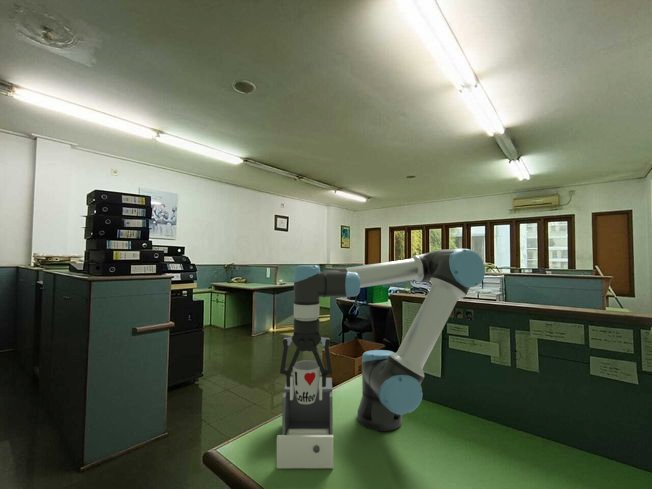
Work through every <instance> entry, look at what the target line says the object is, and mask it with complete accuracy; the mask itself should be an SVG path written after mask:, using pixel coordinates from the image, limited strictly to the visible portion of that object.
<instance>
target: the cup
mask: <svg viewBox="0 0 652 489" xmlns="http://www.w3.org/2000/svg"><path fill="white" fill-rule="evenodd" d="M292 373H293V382H294V389H295V394H296V397H297V401H298V402H299V403H300V404H311V403H313V402H315V399H316V395H317V392H318V386H319V376H320V373H321V371H320V367H319V366H318V364H317V361H316V360H300V361H296V363H295V365H294V367H293V370H292Z"/></svg>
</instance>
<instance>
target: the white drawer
mask: <svg viewBox="0 0 652 489" xmlns="http://www.w3.org/2000/svg"><path fill="white" fill-rule="evenodd" d="M334 457H335V456H334V434H333V435H329V429H288V430H287V435H282V434H278V435H276V469H334V467H335V465H334V462H335V461H334Z"/></svg>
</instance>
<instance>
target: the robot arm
mask: <svg viewBox="0 0 652 489" xmlns="http://www.w3.org/2000/svg"><path fill="white" fill-rule="evenodd" d="M320 269H321V268H320V266H319V265H316V264H304V265H303V264H301V265H297V266H295V267H294V272H293V273H294V275H293V318H294V319H293V334H292V336H291V337H287V336H286V337H284V338H283V339H282V346H283V350H282V356H281V363H280V369H279V373H280V374H281V375H285V377H286V380H285V385H286V386H287V387H290V400H293V397H294V382H293V367H294V365H295V363H296V362H297V360H298V357H299V355H300V352H306V351H307V352H312V354H313V356H314V358H315V362H317V364H318V366H319V367H320V376H319V400H322V387H326V378H327V376H328V375H332V374H333V365H332V359H331V352H330V342H331V341H330V340H331V338H330V337H329V336H327V337H323V336H321V333H320V318H319V317H320V304H321V303H320V298H351V297H357V296H358V295H359V294H360V292H361V288H367V287H375V286H383V285H387V284H388V285H389V284H395V283H401V282H403V283H404V282H409V281H415V282H417V283H420V282H430V284H431V287H430V289H429V291H428V293H427V294H426V297H425V299H424V300H423V302H422V304H421V305H420V308H419V310H418V311H417V313H416V315H415V318H414V319H413V320H412V323H411V324H410V326H409V327H408V328H409V329H408V331H406V332H407V333H406V335H405V336H404V338H403V340H402V342H401V344H400V345H399V347H398V350H397V351H396V352H394V351H392V350H385V349H373V350H368V351H365V352H363V354H362V357H361V358H362V359H361V372H362V373H361V376H362V378H361V380H362V382H361V383H362V384H361V385H362V388H361V390H362V396H361V399H360V401H359V405H358V408H357V421H358V423H359V424H360V425H362V426H363V427H364V428H367V429H369V430H372V431H377V432H391V431H394V430H398V429H399V428H400V427H401V426H402V423H403V415H406V414H410V413H412V412H414V411H415V410H416V409H417V408H418V407H419V406H420V405H421V403H422V400H423V388H422V386H421V385H422V382H423V380H424V379H425V373H424V370H423V369H424V366H425V364H426V362H427V360H428V358H429V356H430V354H431V352H432V351H433V349H434V346H435V345H436V342H437V341H438V339H439V337H440V335H441V333H442V332H443V330H444V327H445V326H446V324H447V322H448V320H449V317H450V316H451V314H452V312H453V310H454V308H455V306H456V304H457V302H458V300H459V299H463V298H466V297H467V294H468V293H469V290H470V288H475V287H476V286H479V285H480V284H481V283H482V282H483V281H484V279H485V276H486V266H485V264H484V260H483V258H482V256H480V255H479V254H478V252H476V251H475V250H473V249H469V248H462V247H460V248H454V249H453V248H452V249H449V248H448V249H438V250H434V251H429V252H425V253H422V254H415V255H412V256H411V257H410V258H407V259H401V260H394V261H393V260H392V261H387V262H386V261H385V262H380V263H379V262H378V263H370V264H365V265H364V264H363V265H359V266H358V265H357V266H356V265H355V266H351V267H343V268H337V269H336V268H335V269H332V268H331V269H325V270H324V271H321V270H320ZM292 342H293V344H294V346H295V347H296V349H295V351H294V354H293V356H292V359H291V362H290V364H289V365H288V368H286V367H287V362H288V361H287V360H288V355H289V354H288V353H289V350H290V346H291V344H292ZM320 343H322V344H321V345H323V346H324V354H325V361H326V367H327V368H325V365H324V362H323V359H322V357H321V355H320V353H319V349H318V347H317V346H318V345H320Z"/></svg>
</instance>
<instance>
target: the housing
mask: <svg viewBox="0 0 652 489" xmlns="http://www.w3.org/2000/svg"><path fill="white" fill-rule="evenodd" d="M333 402H334V401H333V378H332V377H326V387H322V400H319V386H318V392H317V395H316V399H315V402H313V403H311V404H300V403H299V402H298V401H297V397H296V394H295V389H294V397H293V400H290V387H287V386H286V384H285V386H284V388H283V394H282V402H281V404H282V406H281V407H282V408H281V409H282V410H281V411H282V412H281V414H282V415H281V422H282V425H281V426H282V429H281V431H282V432H281V435H287V430H288V429H329V435H333V436H334V431H333V430H334V429H333V427H334V424H333V420H334V419H333V414H334V413H333V412H334V410H333V406H334V405H333Z"/></svg>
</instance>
